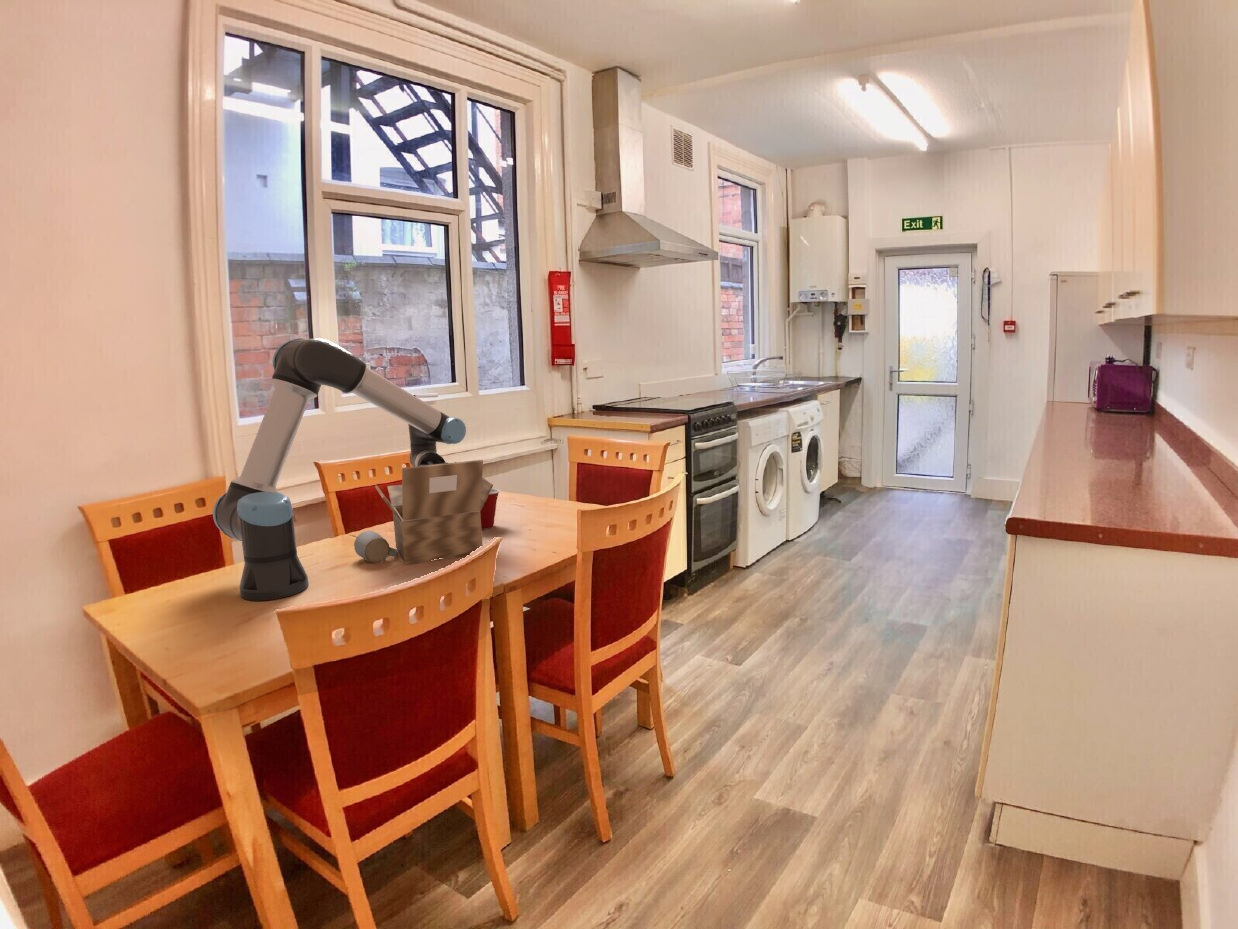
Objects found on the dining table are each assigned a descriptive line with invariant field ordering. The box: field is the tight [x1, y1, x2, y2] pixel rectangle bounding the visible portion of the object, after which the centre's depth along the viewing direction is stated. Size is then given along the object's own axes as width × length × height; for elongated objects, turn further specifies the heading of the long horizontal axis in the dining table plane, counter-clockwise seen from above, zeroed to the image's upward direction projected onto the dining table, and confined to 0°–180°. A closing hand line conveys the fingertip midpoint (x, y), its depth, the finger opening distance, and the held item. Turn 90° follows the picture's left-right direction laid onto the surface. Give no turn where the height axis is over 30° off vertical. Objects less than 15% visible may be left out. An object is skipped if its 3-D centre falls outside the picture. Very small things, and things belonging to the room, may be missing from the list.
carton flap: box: [401, 459, 484, 521], centre depth 191 cm, size 20×17×1 cm
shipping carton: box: [374, 476, 494, 566], centre depth 209 cm, size 30×26×19 cm
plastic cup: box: [480, 488, 501, 530], centre depth 230 cm, size 11×11×12 cm
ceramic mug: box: [353, 530, 399, 564], centre depth 200 cm, size 11×8×8 cm
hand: (447, 478), depth 191 cm, fingers closed
